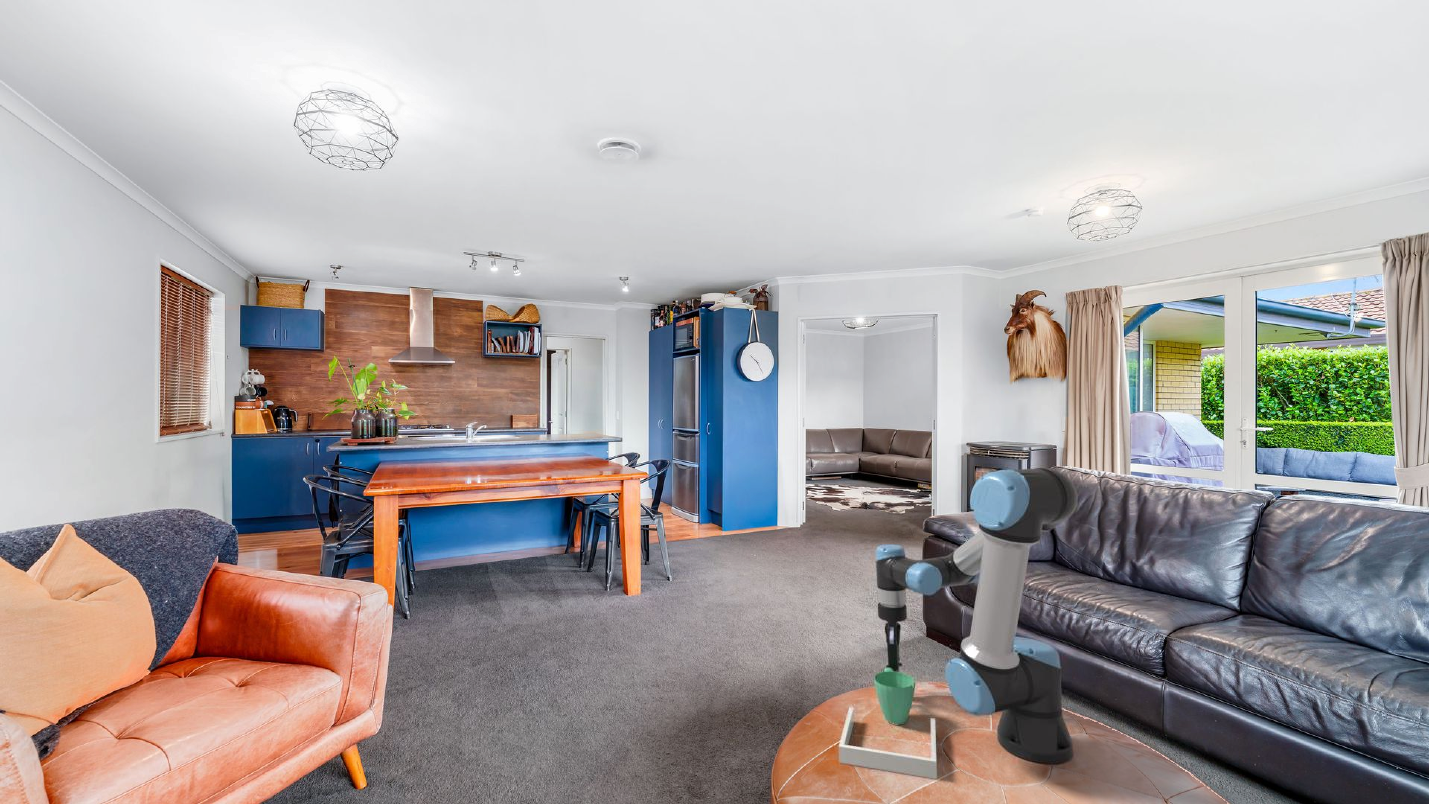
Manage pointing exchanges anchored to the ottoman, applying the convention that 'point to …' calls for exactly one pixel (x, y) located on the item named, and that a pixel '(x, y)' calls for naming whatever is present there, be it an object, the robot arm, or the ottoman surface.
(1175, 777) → the ottoman surface
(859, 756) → the corral
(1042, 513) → the robot arm
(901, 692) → the mug
